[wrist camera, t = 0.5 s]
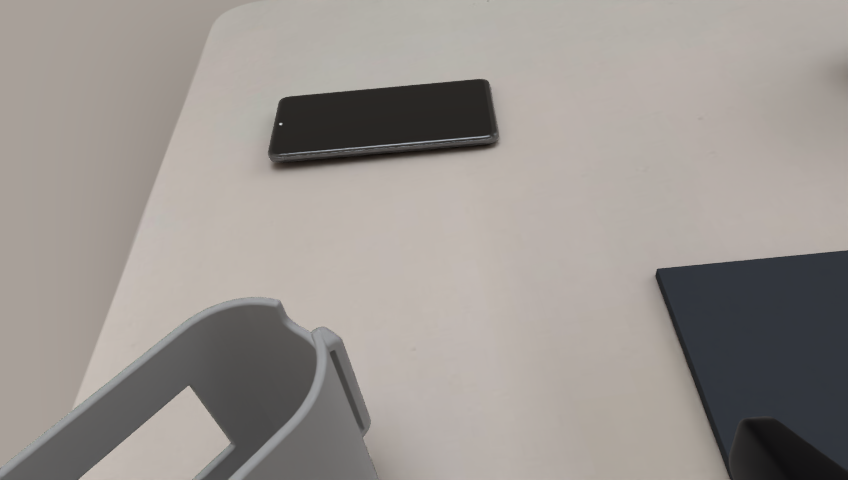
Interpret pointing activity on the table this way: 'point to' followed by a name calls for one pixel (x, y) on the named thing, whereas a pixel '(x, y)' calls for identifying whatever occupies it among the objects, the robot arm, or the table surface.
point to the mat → (767, 343)
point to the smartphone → (383, 121)
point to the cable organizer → (227, 401)
